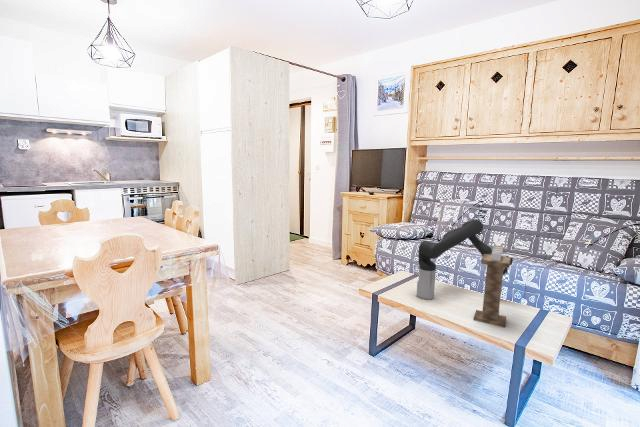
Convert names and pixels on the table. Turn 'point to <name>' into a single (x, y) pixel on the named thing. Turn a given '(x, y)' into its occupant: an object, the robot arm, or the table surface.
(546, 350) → the table surface
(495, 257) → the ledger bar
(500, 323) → the tall stand
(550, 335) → the table surface
